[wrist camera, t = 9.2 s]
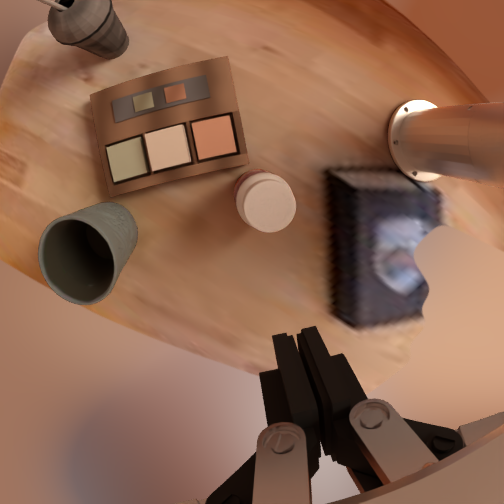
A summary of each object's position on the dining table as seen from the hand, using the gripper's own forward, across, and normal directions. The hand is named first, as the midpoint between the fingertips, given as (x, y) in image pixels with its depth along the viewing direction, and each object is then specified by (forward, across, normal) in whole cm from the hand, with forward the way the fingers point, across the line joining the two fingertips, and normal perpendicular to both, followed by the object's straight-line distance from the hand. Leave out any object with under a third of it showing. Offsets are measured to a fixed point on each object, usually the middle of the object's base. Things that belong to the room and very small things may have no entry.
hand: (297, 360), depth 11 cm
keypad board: (+31, +8, -13) cm, 34 cm away
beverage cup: (+31, +13, -27) cm, 43 cm away
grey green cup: (+31, +19, -1) cm, 37 cm away
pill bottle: (+31, -2, -2) cm, 31 cm away
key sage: (+30, +13, -10) cm, 34 cm away
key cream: (+28, +8, -10) cm, 31 cm away
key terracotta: (+30, +2, -10) cm, 31 cm away
